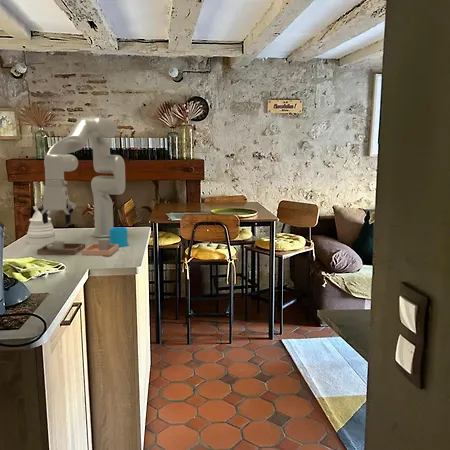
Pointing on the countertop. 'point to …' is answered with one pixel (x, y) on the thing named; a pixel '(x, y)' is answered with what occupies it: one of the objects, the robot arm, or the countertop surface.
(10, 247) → the countertop surface
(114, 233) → the mug
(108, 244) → the stone
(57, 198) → the robot arm
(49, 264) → the countertop surface
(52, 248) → the pebble
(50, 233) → the honey pot
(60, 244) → the stone
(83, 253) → the tray
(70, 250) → the tray
